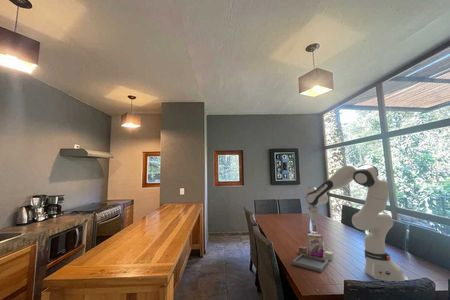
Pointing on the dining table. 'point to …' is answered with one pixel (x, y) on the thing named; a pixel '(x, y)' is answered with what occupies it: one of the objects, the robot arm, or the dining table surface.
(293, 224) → the dining table surface
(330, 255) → the sage cube
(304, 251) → the walnut cube
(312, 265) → the tray
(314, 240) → the candy bar box
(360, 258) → the dining table surface
